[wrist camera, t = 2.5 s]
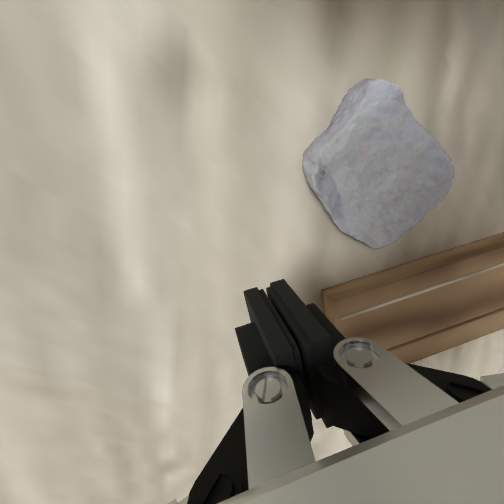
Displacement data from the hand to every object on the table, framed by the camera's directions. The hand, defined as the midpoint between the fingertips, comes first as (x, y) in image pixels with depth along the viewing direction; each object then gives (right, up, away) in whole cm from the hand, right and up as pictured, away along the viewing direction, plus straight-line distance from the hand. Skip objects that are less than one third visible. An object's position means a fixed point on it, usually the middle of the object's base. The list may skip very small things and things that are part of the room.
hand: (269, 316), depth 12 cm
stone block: (+9, +10, +14) cm, 19 cm away
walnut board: (+23, -2, +22) cm, 31 cm away
